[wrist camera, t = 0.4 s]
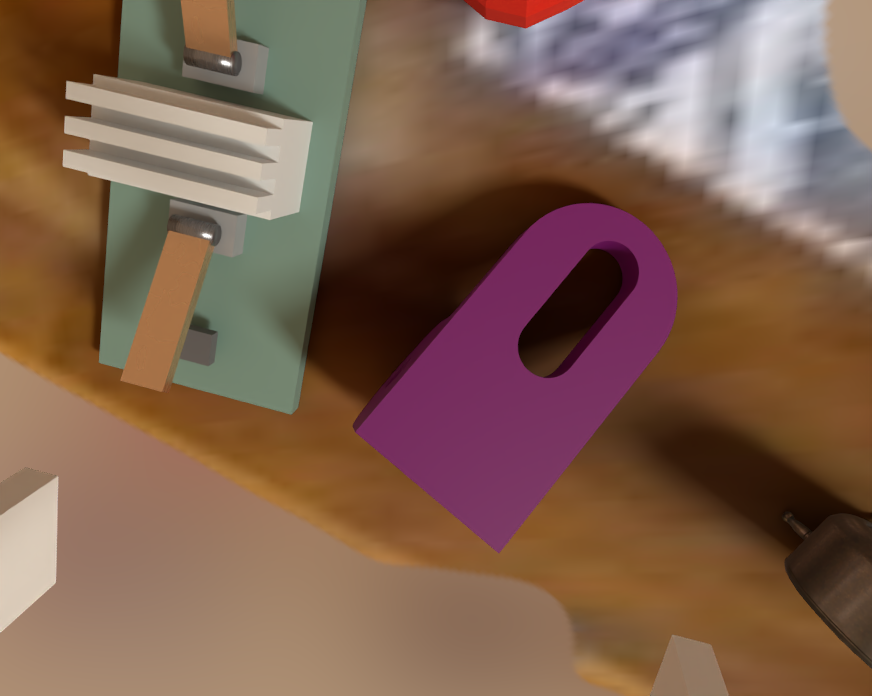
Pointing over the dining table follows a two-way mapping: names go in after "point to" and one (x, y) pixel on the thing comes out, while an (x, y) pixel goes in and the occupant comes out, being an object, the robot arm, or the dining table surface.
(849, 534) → the alarm clock
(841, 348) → the dining table surface
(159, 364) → the strap
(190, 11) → the strap
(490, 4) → the tomato
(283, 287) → the board
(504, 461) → the mounting bracket
